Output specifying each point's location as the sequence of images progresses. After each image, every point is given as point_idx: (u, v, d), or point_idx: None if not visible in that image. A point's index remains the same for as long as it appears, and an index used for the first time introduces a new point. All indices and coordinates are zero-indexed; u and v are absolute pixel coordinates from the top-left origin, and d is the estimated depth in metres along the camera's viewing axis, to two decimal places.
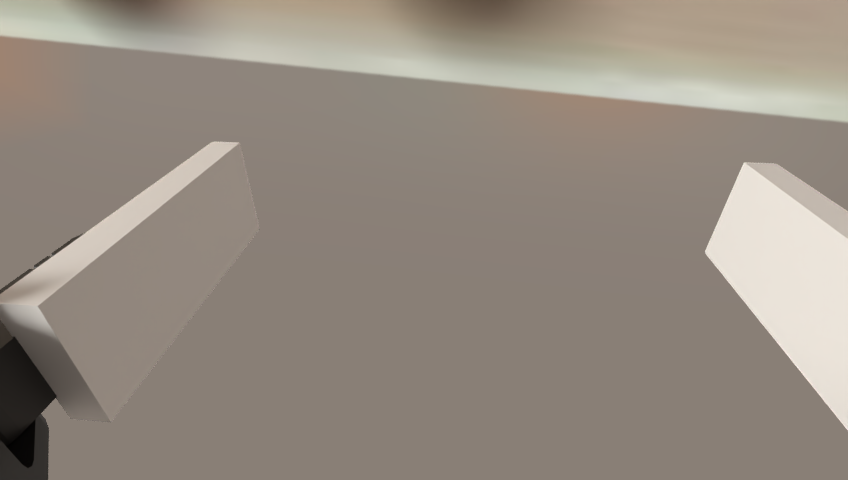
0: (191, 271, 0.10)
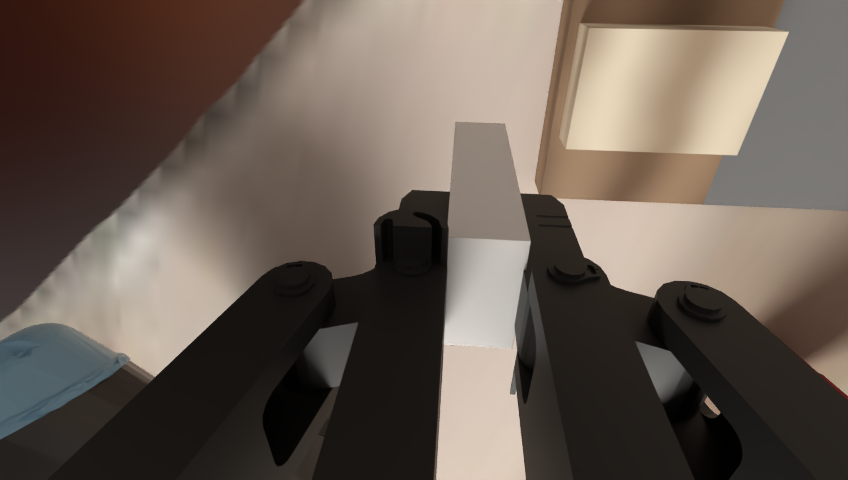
0: None
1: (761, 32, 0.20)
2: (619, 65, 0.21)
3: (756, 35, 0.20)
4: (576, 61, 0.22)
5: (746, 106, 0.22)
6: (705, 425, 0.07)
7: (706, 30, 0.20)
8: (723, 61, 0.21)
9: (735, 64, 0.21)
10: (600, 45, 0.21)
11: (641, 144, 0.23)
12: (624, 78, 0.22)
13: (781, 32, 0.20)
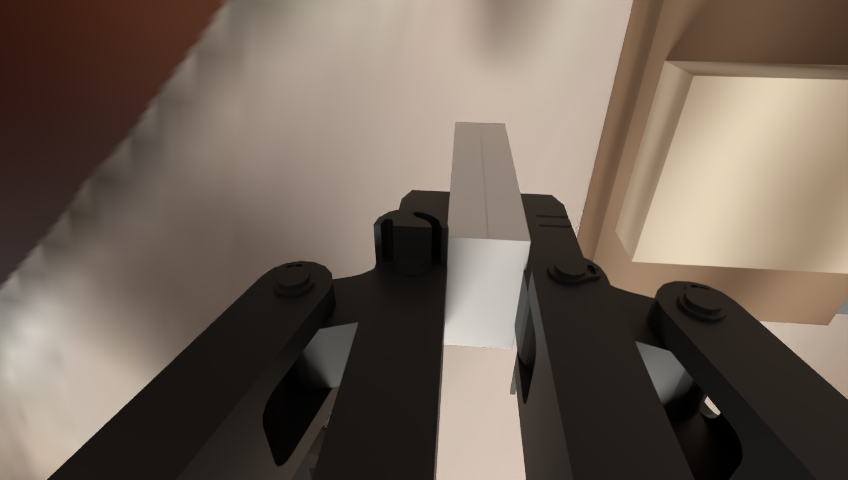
0: None
1: None
2: (740, 138, 0.12)
3: None
4: (657, 124, 0.13)
5: None
6: (705, 425, 0.07)
7: None
8: None
9: None
10: (710, 105, 0.12)
11: (759, 258, 0.14)
12: (746, 159, 0.12)
13: None
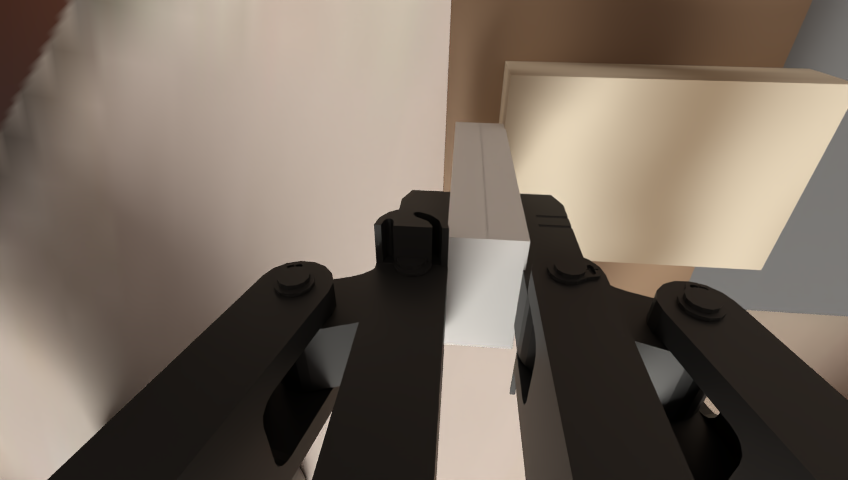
0: None
1: (811, 85, 0.11)
2: (566, 135, 0.13)
3: (802, 90, 0.11)
4: (501, 122, 0.14)
5: (779, 201, 0.13)
6: (705, 425, 0.07)
7: (714, 80, 0.12)
8: (742, 131, 0.12)
9: (763, 136, 0.12)
10: (532, 103, 0.12)
11: (608, 251, 0.15)
12: (576, 155, 0.13)
13: (846, 85, 0.11)
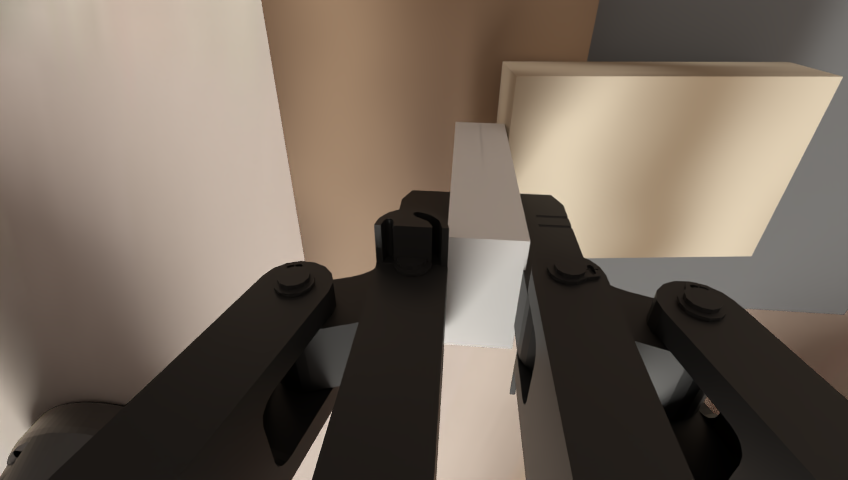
0: None
1: (799, 78, 0.12)
2: (571, 135, 0.13)
3: (792, 83, 0.12)
4: None
5: (769, 189, 0.14)
6: (705, 425, 0.07)
7: (711, 76, 0.12)
8: (737, 124, 0.13)
9: (755, 128, 0.13)
10: (537, 104, 0.12)
11: (610, 247, 0.15)
12: (580, 155, 0.13)
13: (831, 77, 0.12)
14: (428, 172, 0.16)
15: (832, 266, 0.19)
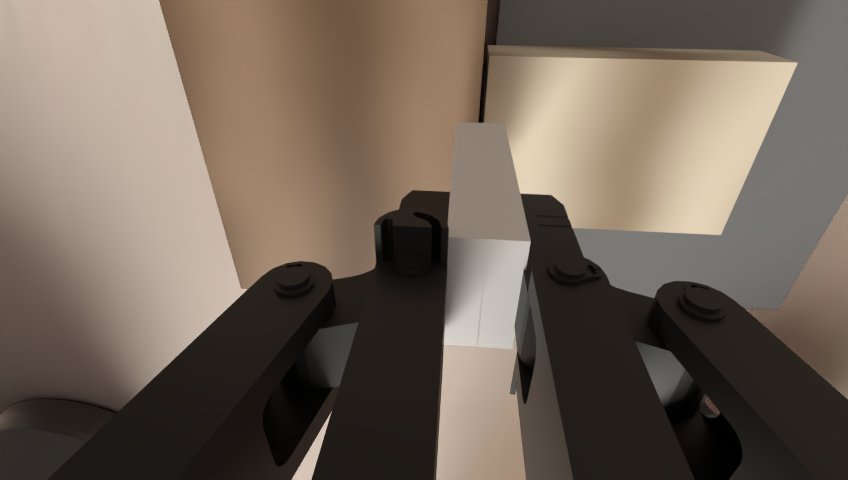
0: None
1: (754, 63, 0.13)
2: (540, 110, 0.14)
3: (747, 67, 0.13)
4: (483, 101, 0.15)
5: (733, 169, 0.15)
6: (705, 425, 0.07)
7: (669, 59, 0.13)
8: (696, 105, 0.14)
9: (715, 110, 0.14)
10: (509, 81, 0.14)
11: (582, 218, 0.16)
12: (549, 129, 0.14)
13: (785, 63, 0.13)
14: (342, 168, 0.16)
15: (760, 261, 0.19)
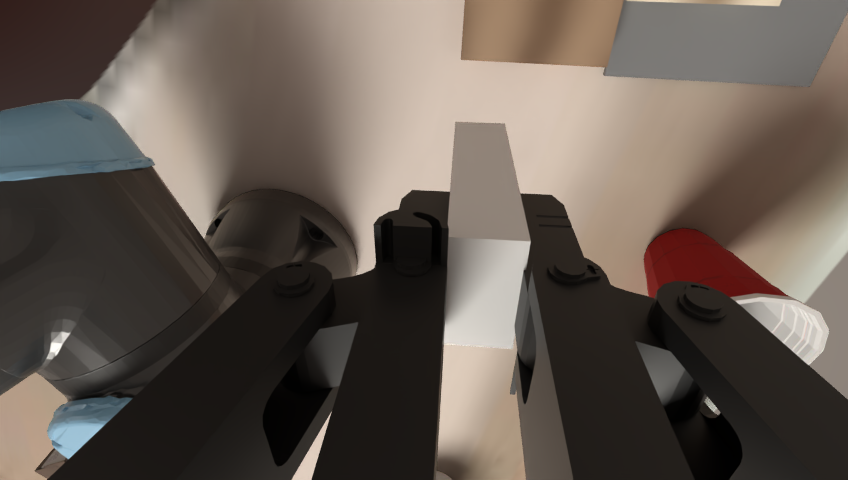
0: None
1: None
2: None
3: None
4: None
5: None
6: (705, 425, 0.07)
7: None
8: None
9: None
10: None
11: None
12: None
13: None
14: None
15: (800, 45, 0.29)
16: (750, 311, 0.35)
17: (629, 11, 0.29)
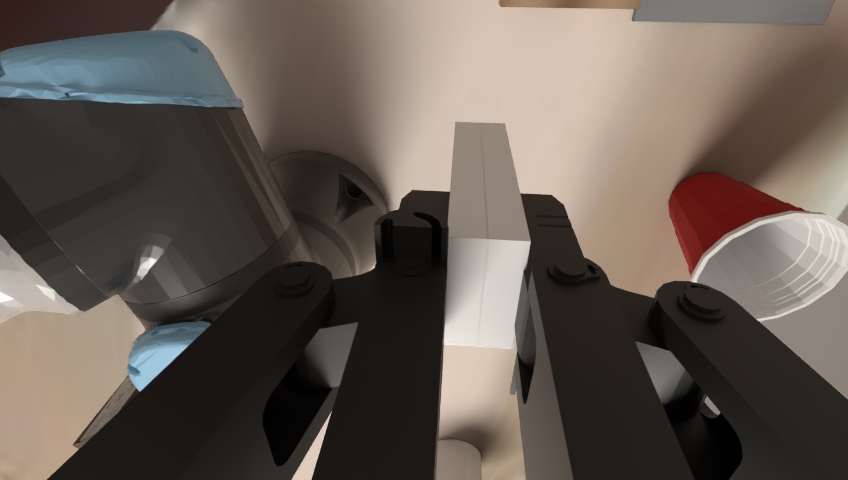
0: None
1: None
2: None
3: None
4: None
5: None
6: (705, 425, 0.07)
7: None
8: None
9: None
10: None
11: None
12: None
13: None
14: None
15: None
16: (775, 243, 0.37)
17: None
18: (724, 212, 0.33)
